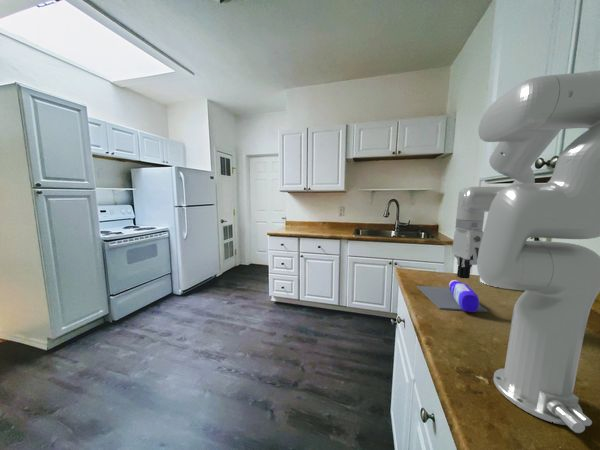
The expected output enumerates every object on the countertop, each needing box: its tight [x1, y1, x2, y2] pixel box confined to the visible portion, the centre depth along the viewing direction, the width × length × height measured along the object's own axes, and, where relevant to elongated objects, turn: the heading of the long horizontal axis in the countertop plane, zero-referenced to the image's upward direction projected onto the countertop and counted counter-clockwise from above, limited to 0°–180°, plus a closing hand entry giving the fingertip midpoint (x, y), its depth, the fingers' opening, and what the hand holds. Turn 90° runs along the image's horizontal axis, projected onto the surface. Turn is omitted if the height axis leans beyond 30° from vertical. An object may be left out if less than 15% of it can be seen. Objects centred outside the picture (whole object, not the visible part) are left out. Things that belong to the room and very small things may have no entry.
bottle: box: [449, 279, 480, 313], centre depth 87 cm, size 7×6×17 cm
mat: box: [416, 285, 489, 313], centre depth 92 cm, size 20×16×1 cm
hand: (463, 277), depth 81 cm, fingers closed
